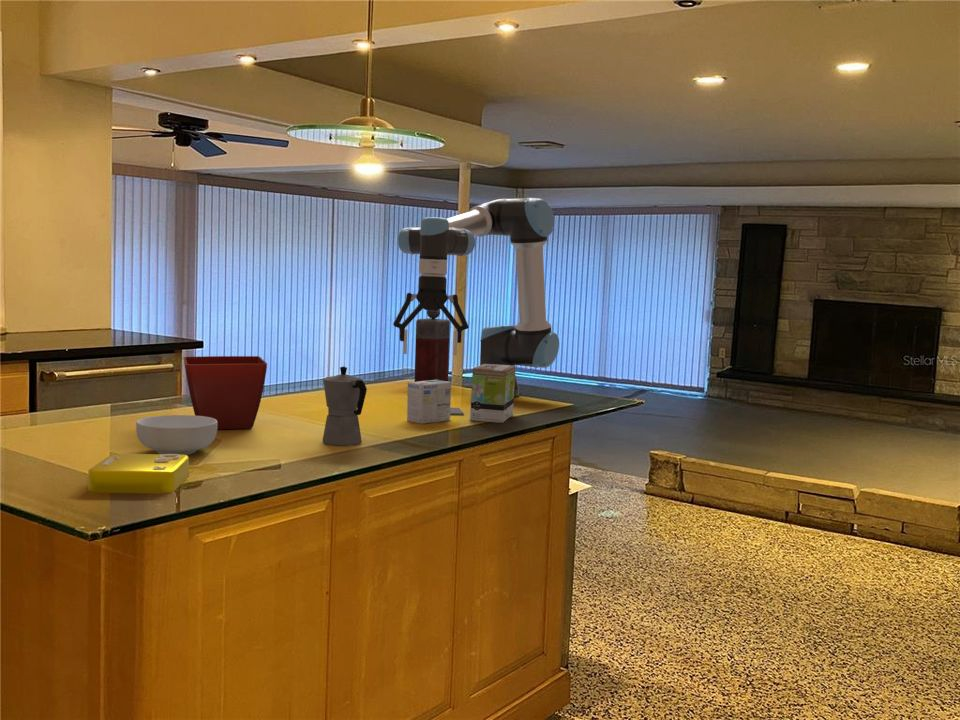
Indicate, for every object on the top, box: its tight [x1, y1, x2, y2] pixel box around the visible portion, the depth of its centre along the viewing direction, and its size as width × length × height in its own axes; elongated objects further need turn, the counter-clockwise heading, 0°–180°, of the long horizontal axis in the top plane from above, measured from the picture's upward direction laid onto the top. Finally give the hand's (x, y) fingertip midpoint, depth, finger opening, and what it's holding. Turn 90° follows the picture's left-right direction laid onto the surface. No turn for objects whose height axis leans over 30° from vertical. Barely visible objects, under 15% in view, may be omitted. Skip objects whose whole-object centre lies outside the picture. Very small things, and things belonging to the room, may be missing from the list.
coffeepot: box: [322, 366, 368, 447], centre depth 206 cm, size 15×9×18 cm, turn 43°
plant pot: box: [183, 355, 268, 430], centre depth 222 cm, size 19×19×17 cm
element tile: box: [87, 453, 190, 495], centre depth 164 cm, size 15×15×5 cm
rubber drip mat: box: [450, 407, 464, 416], centre depth 255 cm, size 10×14×1 cm
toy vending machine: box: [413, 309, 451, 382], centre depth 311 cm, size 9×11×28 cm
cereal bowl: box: [135, 414, 218, 456], centre depth 191 cm, size 17×17×7 cm
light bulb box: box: [406, 380, 452, 425], centre depth 240 cm, size 11×7×11 cm, turn 135°
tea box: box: [469, 364, 516, 424], centre depth 248 cm, size 15×10×15 cm
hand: (429, 354), depth 239 cm, fingers open, 13 cm apart
